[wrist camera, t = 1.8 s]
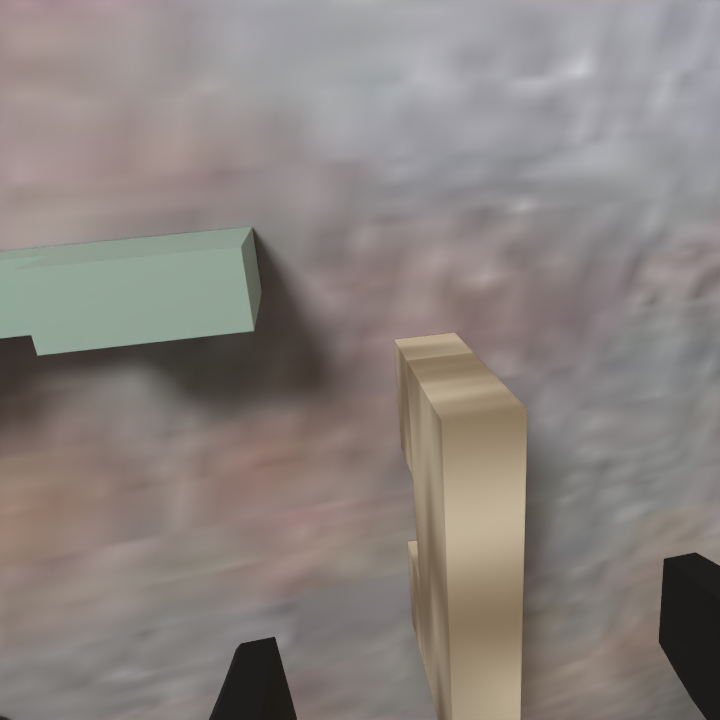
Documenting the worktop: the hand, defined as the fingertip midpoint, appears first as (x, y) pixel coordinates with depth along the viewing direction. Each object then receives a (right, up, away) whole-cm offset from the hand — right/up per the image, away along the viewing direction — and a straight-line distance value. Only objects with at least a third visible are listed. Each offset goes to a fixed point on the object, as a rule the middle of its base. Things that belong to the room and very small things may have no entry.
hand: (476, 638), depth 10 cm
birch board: (0, 0, +10) cm, 10 cm away
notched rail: (-12, +7, +6) cm, 15 cm away
